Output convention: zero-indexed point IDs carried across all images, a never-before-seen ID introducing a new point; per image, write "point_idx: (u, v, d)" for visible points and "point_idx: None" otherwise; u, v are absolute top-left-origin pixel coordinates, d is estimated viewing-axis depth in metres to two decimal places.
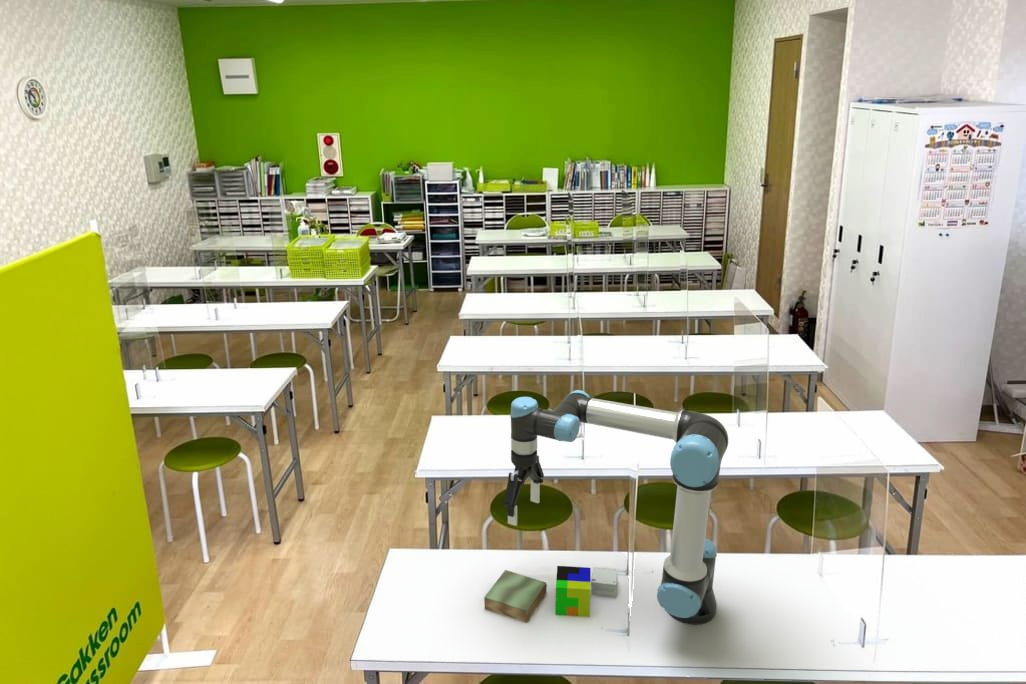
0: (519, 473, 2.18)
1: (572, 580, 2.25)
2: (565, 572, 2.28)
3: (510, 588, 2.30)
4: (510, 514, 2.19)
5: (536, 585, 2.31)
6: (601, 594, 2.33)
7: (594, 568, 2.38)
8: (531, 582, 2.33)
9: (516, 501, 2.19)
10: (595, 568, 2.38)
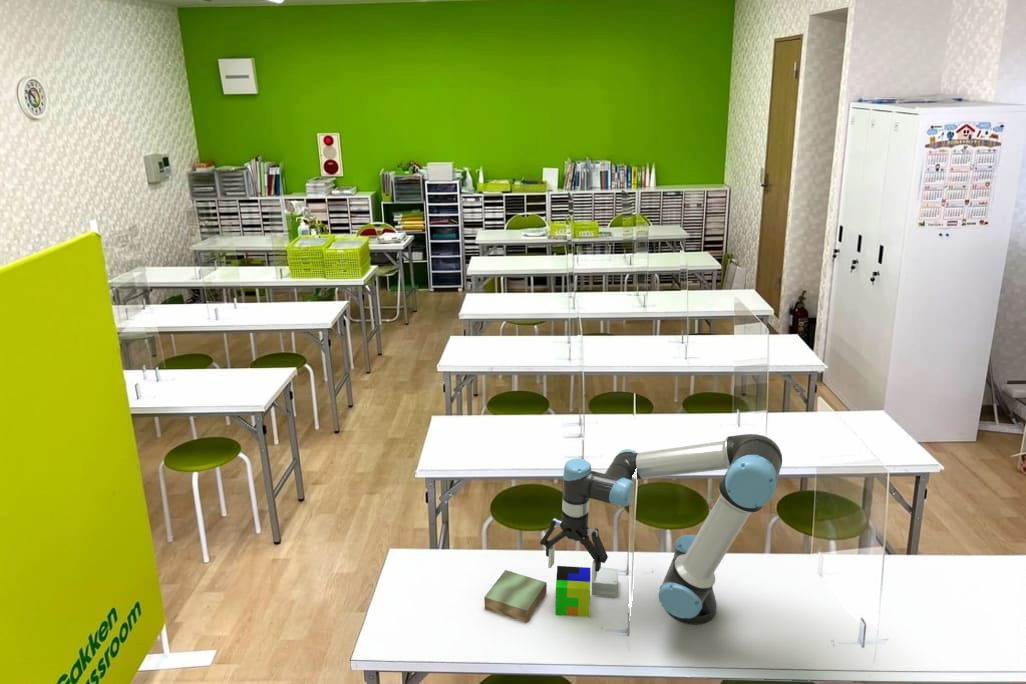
0: (560, 525, 2.21)
1: (572, 580, 2.25)
2: (565, 572, 2.29)
3: (510, 588, 2.30)
4: None
5: (536, 585, 2.31)
6: (602, 594, 2.33)
7: None
8: (531, 582, 2.33)
9: (551, 545, 2.24)
10: None
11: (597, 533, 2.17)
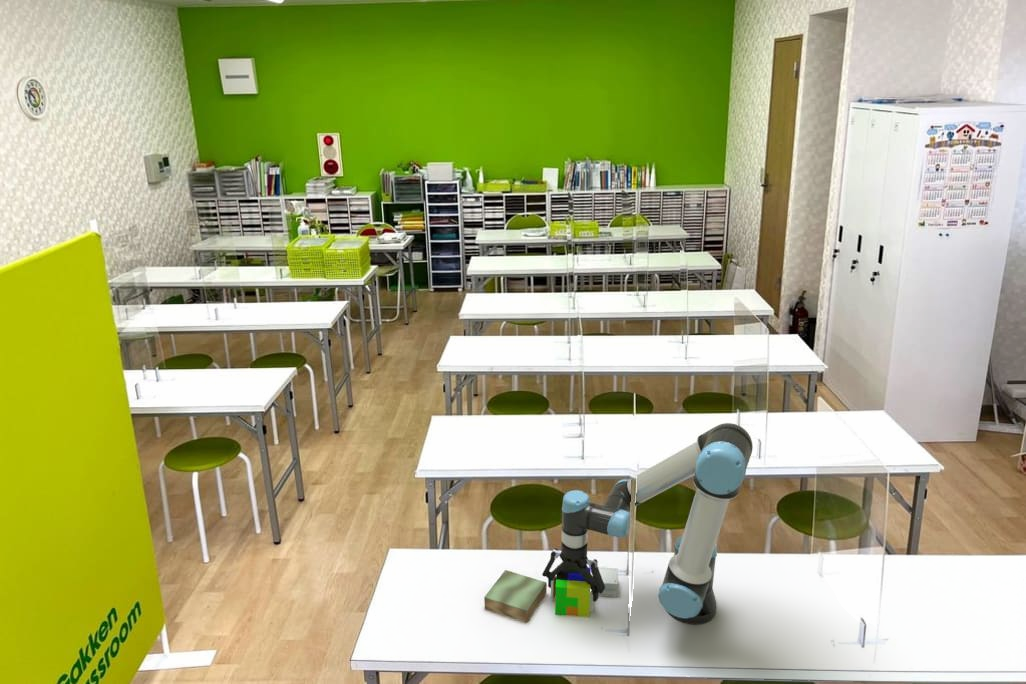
0: (560, 555, 2.25)
1: (572, 579, 2.25)
2: (565, 571, 2.29)
3: (510, 588, 2.30)
4: None
5: (536, 585, 2.31)
6: (602, 594, 2.33)
7: None
8: (531, 582, 2.33)
9: (553, 577, 2.28)
10: None
11: (596, 564, 2.21)
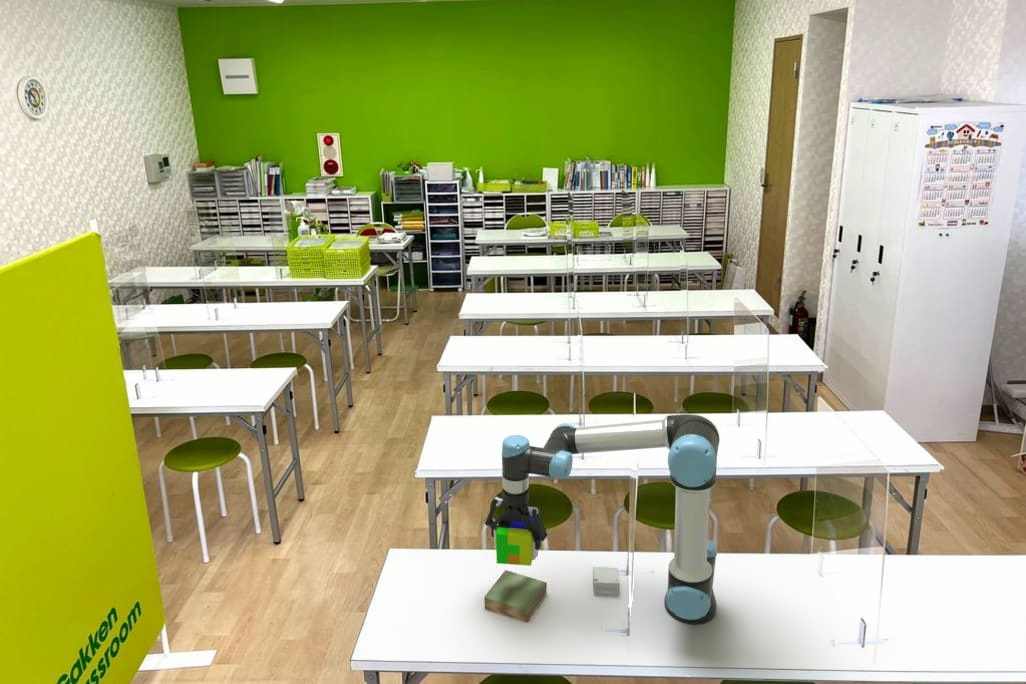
0: (501, 502, 2.20)
1: (514, 527, 2.20)
2: (507, 520, 2.24)
3: (510, 588, 2.30)
4: None
5: (536, 585, 2.31)
6: (604, 594, 2.33)
7: (595, 568, 2.38)
8: (531, 582, 2.33)
9: (495, 525, 2.23)
10: (596, 568, 2.38)
11: (537, 511, 2.16)
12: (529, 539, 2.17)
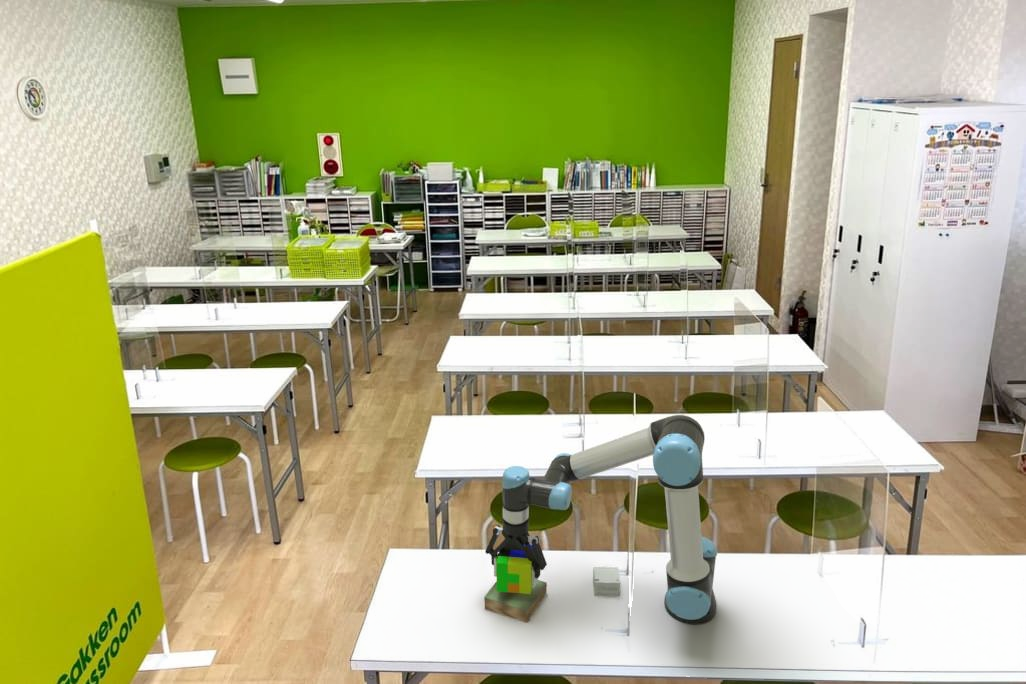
0: (501, 532, 2.24)
1: (514, 556, 2.24)
2: (508, 548, 2.27)
3: None
4: None
5: (536, 585, 2.31)
6: (605, 593, 2.33)
7: (595, 568, 2.38)
8: None
9: (495, 554, 2.27)
10: (596, 568, 2.38)
11: (537, 541, 2.20)
12: (529, 568, 2.20)
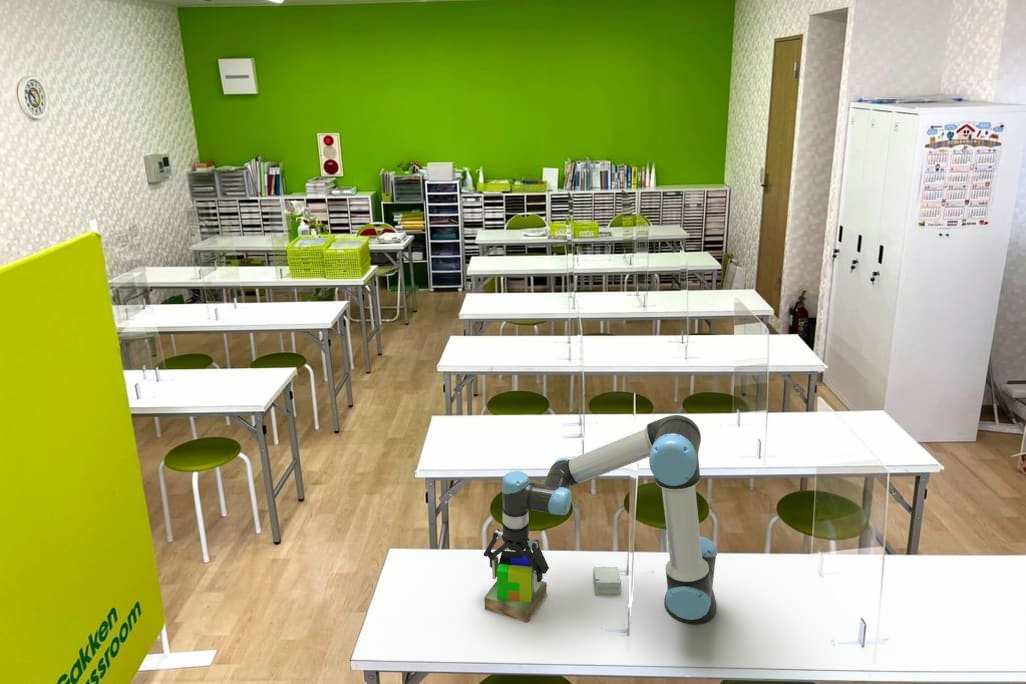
0: (502, 536, 2.24)
1: (514, 564, 2.25)
2: (508, 556, 2.28)
3: None
4: None
5: None
6: (605, 593, 2.33)
7: (595, 568, 2.38)
8: None
9: (494, 557, 2.28)
10: (596, 568, 2.38)
11: (537, 544, 2.20)
12: (529, 577, 2.21)
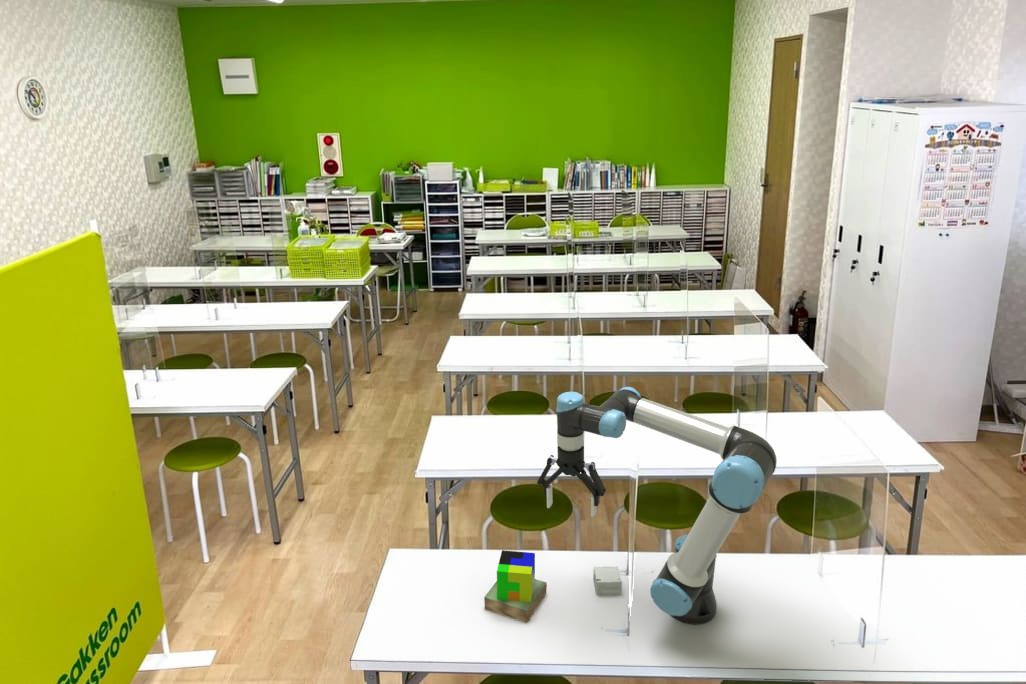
0: (556, 461, 2.20)
1: (514, 564, 2.25)
2: (508, 556, 2.28)
3: None
4: None
5: (536, 585, 2.31)
6: (606, 593, 2.33)
7: (595, 568, 2.38)
8: None
9: (548, 484, 2.23)
10: (597, 568, 2.38)
11: (593, 466, 2.16)
12: (529, 577, 2.21)
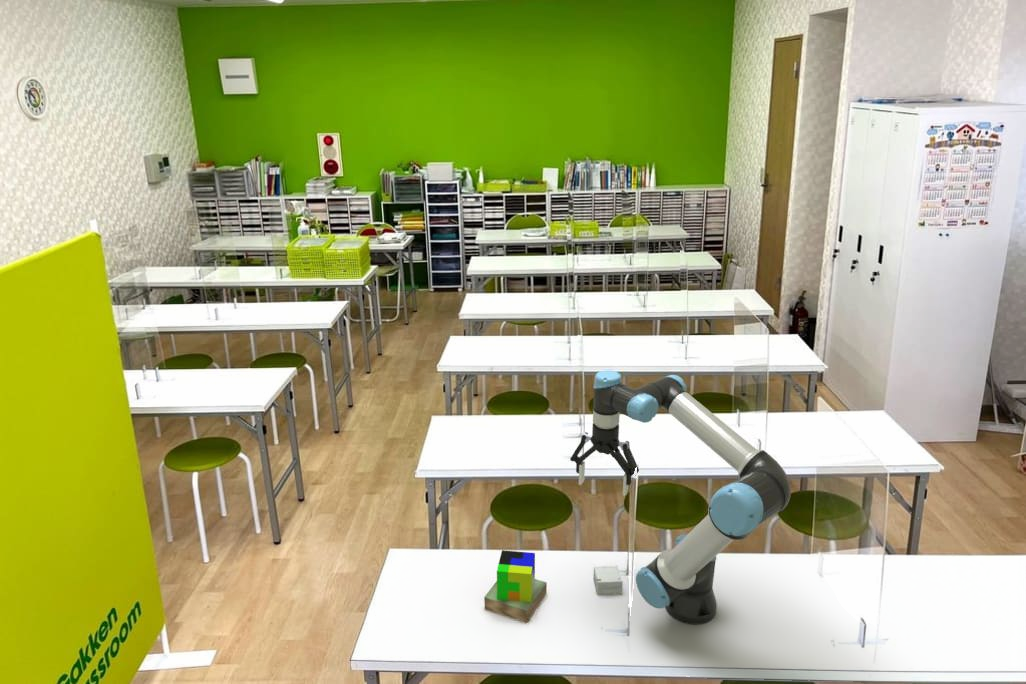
0: (590, 439, 2.21)
1: (514, 564, 2.25)
2: (508, 556, 2.28)
3: None
4: None
5: (536, 585, 2.31)
6: (607, 593, 2.33)
7: (595, 568, 2.38)
8: None
9: (581, 461, 2.25)
10: (597, 568, 2.38)
11: (628, 445, 2.17)
12: (529, 577, 2.21)
